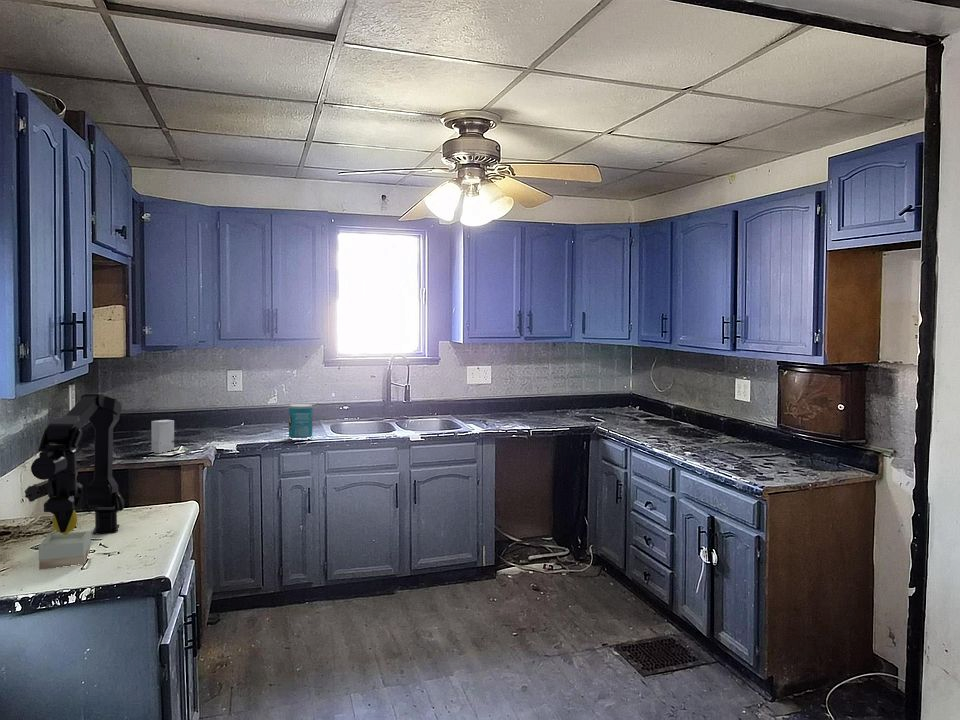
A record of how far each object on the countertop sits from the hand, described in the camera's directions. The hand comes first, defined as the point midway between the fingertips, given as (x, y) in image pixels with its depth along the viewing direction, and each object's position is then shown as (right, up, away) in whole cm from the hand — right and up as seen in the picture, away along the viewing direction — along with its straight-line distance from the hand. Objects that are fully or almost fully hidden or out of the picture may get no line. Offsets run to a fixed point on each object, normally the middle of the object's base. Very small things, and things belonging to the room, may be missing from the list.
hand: (65, 528), depth 179 cm
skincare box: (-39, +1, +139) cm, 144 cm away
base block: (0, -9, 0) cm, 9 cm away
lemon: (0, -2, 0) cm, 2 cm away
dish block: (0, -6, 0) cm, 6 cm away
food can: (+15, +3, +179) cm, 179 cm away
